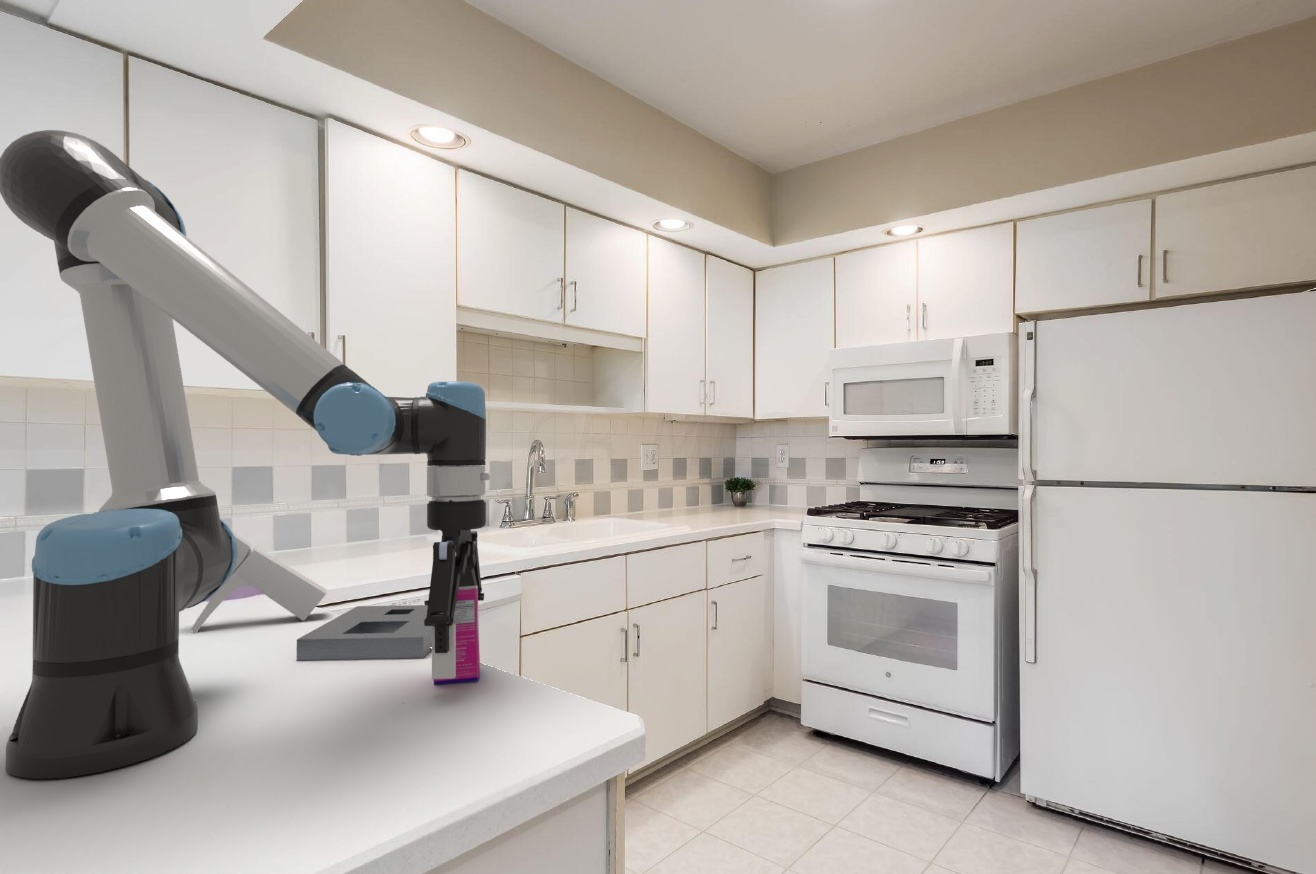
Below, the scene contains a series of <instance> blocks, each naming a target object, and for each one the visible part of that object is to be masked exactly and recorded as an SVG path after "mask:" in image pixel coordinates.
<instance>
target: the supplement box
mask: <svg viewBox="0 0 1316 874" xmlns="http://www.w3.org/2000/svg"><path fill="white" fill-rule="evenodd" d="M439 614H443V613H439ZM453 624H456V677H455V678H451V679H433V685H434V686H440V685H451V684H454V685H455V684H464V683H465V684H466V683H476V682H479V681H480V676H481V659H480V658H481V656H480V629H479V627H480V624H479V601H478V586H477V585H475V586H464V587H459V588H458V594H457V600H456V606H455V612H454V621H453Z"/></svg>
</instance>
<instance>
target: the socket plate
mask: <svg viewBox="0 0 1316 874" xmlns="http://www.w3.org/2000/svg"><path fill="white" fill-rule="evenodd" d="M427 608H428V604H426V605H425V604H424V605H422V604H421V605H418V604H416V605H415V604H414V605H411V604H410V605H361V606H360V605H359V606H358V605H357V606H355V607H353V608H352V609H350V610H348V611H346V612H345V613H343V614H341V615H338V616H337V617H335V618H333V619H332V620H330V621H328V622H325V623H324V624H322V625H320V626H318V627H317V628H315V629H314V630H311V631H310V632H308V633H306V634H304V635H302V636H300V637H299V638H297V639H296V661H297V662H298V661H336V660H337V661H338V660H340V661H341V660H386V659H387V660H391V659H392V660H393V659H396V658H401V659H424V658H426V656H427V655H428V654H430V652H432V649H431V648H430V647H432V626H425V625H424V619H426V617H427Z"/></svg>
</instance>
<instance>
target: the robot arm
mask: <svg viewBox="0 0 1316 874" xmlns="http://www.w3.org/2000/svg"><path fill="white" fill-rule="evenodd" d="M0 195H1V197H2V199H3V201H4V203H5V205H6V206H7V207H8V208H9V210H10V211H11V212H12V213H13V215H15V217H16V218H18V220H20V221H21V222H22V223H23V224H25V225H26V226H28V227H29V228H31V229H32V230H33V231H35V232H37V233H40V234H41V235H43V236H44V237H46V238H48V239H50V240H52V241H53V244H54V250H55V255H56V262H57V267H58V273H59V278H60V279H61V281H62V282H63V283H65V284H66V285H67V286H69V287H70V288H72V289H73V290H74V291H75V292H77V293H78V294H79V298H80V304H81V311H82V316H83V321H84V322H83V323H84V328H85V334H86V341H87V347H88V353H89V359H90V364H91V370H92V375H93V376H92V377H93V381H94V382H93V384H94V389H95V393H96V394H95V396H96V401H97V406H98V412H99V418H100V425H101V431H102V436H103V441H104V442H103V443H104V449H105V454H106V459H107V460H106V461H107V467H108V473H109V479H110V484H111V490H112V491H111V496H110V497H109V498H108V499H107V500H106V501H105V502H104V504H103V505H102V506H101V507H100V508H99V509H98V511H97V512H96V511H95V512H93V513H82V514H76V515H72V516H67V517H64V518H60V519H57V520H55V521H53V522H50V523H49V524H46V526H44V527H42V529H40V530H39V532H38V535H36V539H35V548H34V549H35V550H34V556H33V558H32V560H31V571H32V574H33V576H32V577H33V578H32V579H33V581H32V583H33V585H32V590H33V591H32V673H31V674H32V675H31V677H32V678H31V683H30V686H29V688H28V691H27V693H26V696H25V699H24V701H23V703H22V705H21V707H20V710H19V713H18V716H17V718H16V719H15V722H14V726H13V729H12V732H11V734H10V735H9V737H8V739H7V742H6V746H5V770H6V772H7V773H8V774H10V775H12V776H15V777H18V778H22V779H23V778H24V779H32V780H33V779H34V780H37V779H39V780H40V779H41V780H45V779H60V778H61V779H62V778H70V777H77V776H84V775H90V774H96V773H102V772H105V771H109V770H114V769H118V768H123V767H126V766H129V765H133V764H136V763H140V762H143V761H146V760H149V759H151V758H154V757H157V756H159V755H161V754H164V753H166V752H170V751H171V750H173V749H175V748H177V747H179V746H180V745H182V744H184V743H186V742H187V741H188V740H189V739H192V737H193V736H195V734H196V733H197V730H198V725H199V724H198V722H199V718H198V717H199V716H198V714H199V711H198V709H199V708H198V705H197V703H196V700H195V698H194V696H193V693H192V690H191V687H190V685H189V682H188V679H187V677H186V674H185V671H184V668H183V666H182V664H181V662H180V656H179V654H180V653H179V652H180V651H179V649H180V648H179V647H180V645H179V644H180V643H179V642H180V641H179V640H180V639H179V637H180V613H181V612H183V611H185V610H186V609H191V608H193V607H196V606H197V605H200V604H201V603H204V602H206V601H205V600H207V599H208V598H209V597H211V596H212V595H213V594H214V593H215V592H216V591H217V590H218V589H219V588H221V587H222V586H223V585H224V583H225V582H226V581H227V580H228V578H229V577H230V575H231V574H232V572H233V570H234V567H235V564H236V560H237V543H236V539H235V537H234V534H233V532H232V531H231V530H232V529H231V528H230V526H228V524H226V522H224V521H223V520H222V519H221V516H220V512H219V511H220V509H219V505H218V499H217V494H216V492H215V491H214V490H212V489H211V488H209V487H208V486H206V485H205V484H203V483H202V482H201V481H200V479H199V472H198V466H197V460H196V453H195V447H194V443H193V436H192V430H191V429H192V428H191V425H190V424H191V423H190V418H189V412H188V405H187V400H186V393H185V387H184V386H185V385H184V379H183V373H182V367H181V364H180V357H179V356H180V355H179V349H178V345H177V338H176V333H175V332H176V331H175V326H174V321H175V322H176V323H177V324H178V325H180V326H181V327H183V328H184V329H185V330H186V331H188V332H189V333H190V334H191V335H193V336H194V337H195V338H197V339H198V340H199V341H201V342H202V343H203V344H205V345H206V346H207V347H209V348H210V349H211V350H213V352H215V353H216V354H218V355H219V356H220V357H222V358H223V359H224V360H225V361H226V362H228V363H229V364H231V365H232V366H233V367H234V368H235V369H237V370H238V371H240V372H241V373H242V374H243V375H245V376H246V377H247V378H249V380H251V381H252V382H254V383H256V385H258V386H259V387H260V388H262V389H263V390H264V391H265V392H267V393H268V394H269V395H271V396H272V397H273V398H274V399H276V400H277V401H278V402H280V403H281V404H282V405H283V406H285V407H286V408H288V409H289V410H290V411H291V412H292V413H294V414H295V415H296V416H298V417H299V418H300V419H301V420H302V421H303V422H305V423H306V424H307V425H309V426H310V427H311V428H312V429H314V430H315V431H316V432H317V433H318V435H319V437H320V439H321V440H322V441H323V442H324V443H325V444H326V445H327V447H328V450H329V451H330V452H331V453H332V454H335V455H349V456H358V457H361V456H364V455H366V456H368V455H369V456H370V455H376V456H377V455H413V454H414V455H421V454H425V455H426V458H427V461H426V462H427V463H426V466H427V467H426V496H428V497H429V498H431V500H429V501H428V503H427V504H426V526H427V528H428V529H429V530H431V531H432V530H433V531H441V533H442V535H441V541H434V542H433V545H432V566H431V567H432V568H431V576H430V584H429V592H428V601H427V605H428V608H427V617H426V619H424V625H425V626H432V650H431V679H432V680H434V679H451V678H455V677H456V624H453V621H454V612H455V606H456V600H457V594H458V588H459V587H464V586H475V585H477V586H478V602H479V601H481V602H482V601H484V600H485V593H484V592H482V591H483V588H482V580H481V569H480V568H481V567H480V561H479V559H480V558H479V551H478V536H479V535H478V531H476V530H478V529H482V528H484V527H485V526H486V524H487V503H486V501H485V500H484V499H482V498H481V497H482V496H485V495H486V481H489V480H490V478H491V475H490V473H489V472H486V454H487V453H486V451H487V449H486V447H487V413H486V412H487V410H486V393H485V389H484V388H483V387H482V386H481V385H480V384H478V383H474V382H471V381H470V382H468V381H456V380H455V381H454V380H453V381H452V380H451V381H435V382H434V381H433V382H431V383H429V384H428V386H427V389H426V392H425V396H420V397H419V396H418V397H417V396H415V397H404V396H403V397H399V396H398V397H397V396H385V394H383V393H382V392H381V391H379V390H378V389H377V388H375V387H374V386H372V385H371V384H370V383H369V382H367V381H366V380H365V379H364V378H362V377H361V376H360V375H359V374H357V372H355V371H353V370H352V369H351V368H349V367H348V366H347V365H346V364H345V363H344V362H342V361H341V360H340V358H339V359H338V357H336V356H335V355H334V354H332V353H331V352H330V351H329V350H328V349H326V348H325V346H323V345H321V344H320V343H319V342H317V340H316V339H314V338H313V337H312V336H310V335H309V334H307V332H305V331H304V330H303V329H301V328H300V327H299V326H298V325H296V324H295V323H294V322H293V321H292V320H290V318H288V317H287V316H285V315H284V314H283V313H282V312H281V311H279V310H278V309H277V308H275V307H274V306H273V305H272V304H271V303H269V302H268V301H267V300H265V299H264V298H263V297H262V296H261V295H259V294H258V293H257V292H256V291H254V290H253V289H252V288H251V287H250V286H248V285H247V284H245V282H244V281H242V280H240V278H238V277H237V276H235V275H234V274H233V273H232V272H231V271H230V270H228V269H227V268H226V267H225V266H223V264H221V263H220V262H218V261H217V260H216V259H215V258H213V257H212V256H211V255H210V254H208V253H207V252H206V251H205V250H203V249H202V248H201V247H200V246H198V245H197V243H195V242H194V241H192V240H191V239H190V238H189V237H187V230H186V227H185V223H184V220H183V218H182V216H181V215H180V212H179V211H178V209H177V208H176V207H175V206H174V203H172V202H171V200H170V199H169V197H168V196H167V195H166V194H165V193H164V192H163V191H162V190H161V189H159V188H158V187H157V186H156V185H154V184H153V183H152V182H150V181H149V180H146V179H145V178H144V177H142V176H141V175H140V174H139V173H138V172H136V171H135V170H134V169H133V168H132V167H130V166H129V165H128V164H127V163H126V162H125V161H124V160H122V159H120V157H119V156H117V155H116V154H115V153H114V152H113V151H111V150H109V148H107V147H106V146H104V145H102V144H101V143H99V142H97V141H96V140H93V139H92V138H89V137H86V136H85V135H83V134H82V135H81V134H78V133H75V132H70V131H65V130H60V129H59V130H57V129H56V130H55V129H47V130H46V129H45V130H38V131H33V132H31V133H26V134H24V135H22V136H20V137H18V138H17V139H15V140H13V141H12V142H11V143H10V144H9V145H8V146H7V147H6V148H5V149H4V151H3V152H2V154H1V155H0ZM474 530H475V531H474ZM439 613H443V614H439Z"/></svg>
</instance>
